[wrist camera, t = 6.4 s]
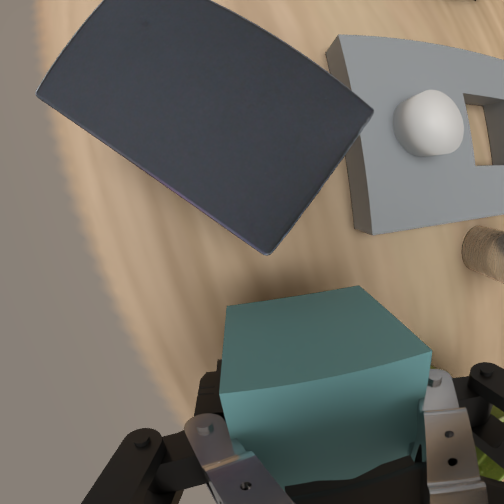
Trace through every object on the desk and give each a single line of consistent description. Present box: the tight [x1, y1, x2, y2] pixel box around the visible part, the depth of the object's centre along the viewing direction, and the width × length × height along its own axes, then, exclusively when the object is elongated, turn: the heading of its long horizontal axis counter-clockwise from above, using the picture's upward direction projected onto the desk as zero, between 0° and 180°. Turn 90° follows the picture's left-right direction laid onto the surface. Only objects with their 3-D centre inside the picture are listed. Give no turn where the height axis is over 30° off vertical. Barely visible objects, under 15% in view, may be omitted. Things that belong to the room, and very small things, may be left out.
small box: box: [35, 0, 374, 255], centre depth 14 cm, size 11×6×10 cm, turn 54°
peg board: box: [326, 35, 504, 235], centre depth 17 cm, size 12×16×5 cm
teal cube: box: [219, 286, 432, 491], centre depth 11 cm, size 6×6×6 cm
